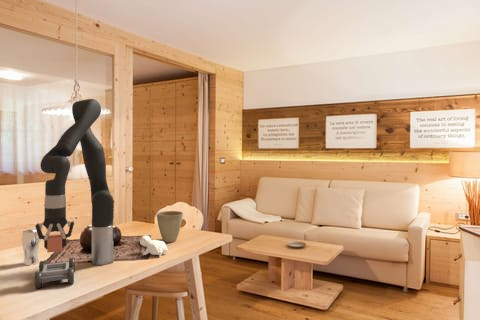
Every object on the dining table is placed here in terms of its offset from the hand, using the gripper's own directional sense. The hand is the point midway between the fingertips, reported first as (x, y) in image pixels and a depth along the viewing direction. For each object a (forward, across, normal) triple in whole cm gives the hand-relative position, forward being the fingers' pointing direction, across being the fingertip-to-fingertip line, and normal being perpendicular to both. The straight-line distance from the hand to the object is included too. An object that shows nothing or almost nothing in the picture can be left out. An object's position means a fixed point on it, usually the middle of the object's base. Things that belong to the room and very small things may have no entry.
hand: (55, 248), depth 139 cm
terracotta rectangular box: (+1, 0, 0) cm, 1 cm away
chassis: (+13, 0, -2) cm, 13 cm away
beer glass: (+13, +12, -27) cm, 32 cm away
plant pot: (+13, -55, -42) cm, 71 cm away
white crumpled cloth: (+13, -42, -21) cm, 49 cm away
